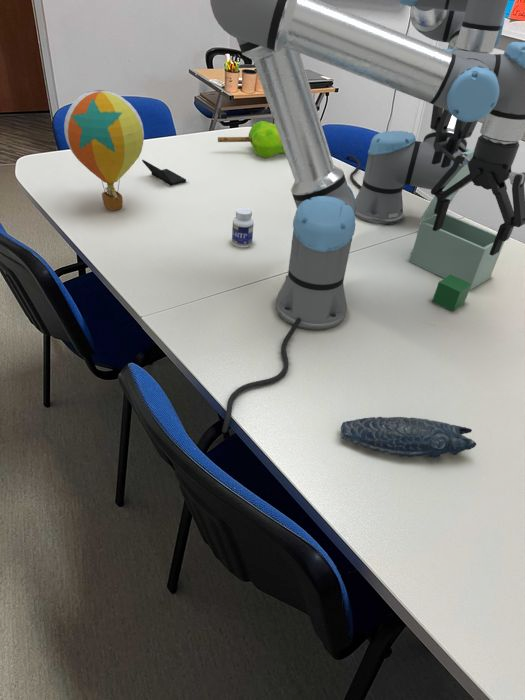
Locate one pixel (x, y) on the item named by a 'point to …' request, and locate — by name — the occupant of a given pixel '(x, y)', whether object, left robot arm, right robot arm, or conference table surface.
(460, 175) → the lid
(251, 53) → the left robot arm
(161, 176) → the black angular piece
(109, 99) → the toy
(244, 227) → the pill bottle
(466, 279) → the chest
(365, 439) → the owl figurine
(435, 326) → the conference table surface
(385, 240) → the conference table surface
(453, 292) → the block
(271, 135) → the decorative tree
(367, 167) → the right robot arm
